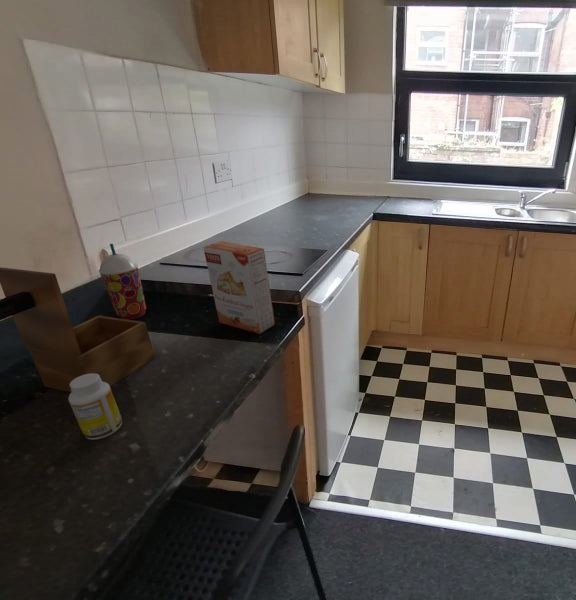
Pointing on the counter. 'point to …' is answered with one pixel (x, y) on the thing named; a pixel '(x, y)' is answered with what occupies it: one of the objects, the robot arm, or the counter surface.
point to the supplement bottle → (94, 406)
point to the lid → (41, 311)
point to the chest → (97, 353)
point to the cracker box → (240, 286)
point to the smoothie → (123, 285)
